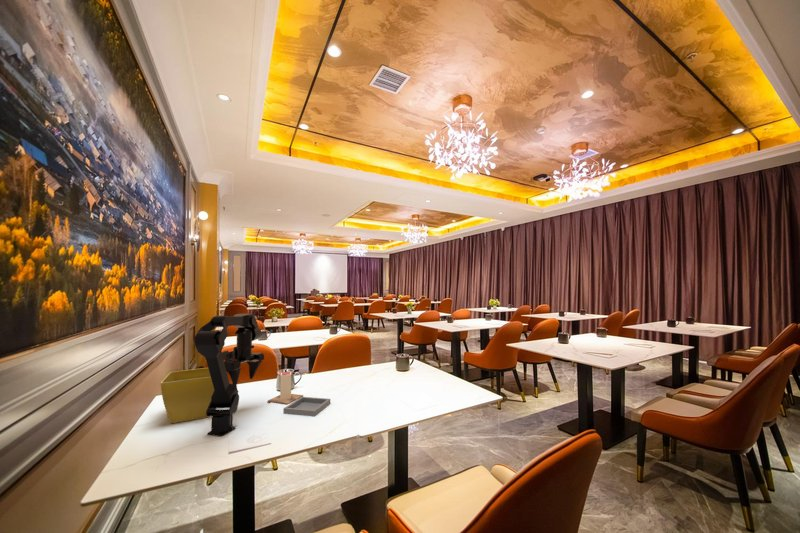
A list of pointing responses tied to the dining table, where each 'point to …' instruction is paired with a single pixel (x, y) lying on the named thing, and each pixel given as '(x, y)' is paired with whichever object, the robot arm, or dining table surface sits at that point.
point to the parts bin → (307, 406)
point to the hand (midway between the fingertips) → (243, 381)
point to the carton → (285, 386)
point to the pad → (286, 402)
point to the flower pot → (187, 394)
